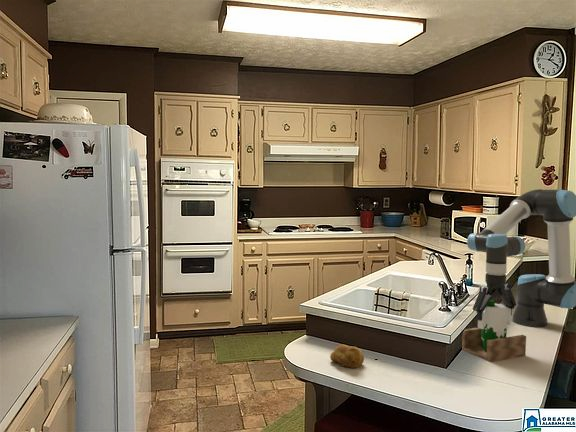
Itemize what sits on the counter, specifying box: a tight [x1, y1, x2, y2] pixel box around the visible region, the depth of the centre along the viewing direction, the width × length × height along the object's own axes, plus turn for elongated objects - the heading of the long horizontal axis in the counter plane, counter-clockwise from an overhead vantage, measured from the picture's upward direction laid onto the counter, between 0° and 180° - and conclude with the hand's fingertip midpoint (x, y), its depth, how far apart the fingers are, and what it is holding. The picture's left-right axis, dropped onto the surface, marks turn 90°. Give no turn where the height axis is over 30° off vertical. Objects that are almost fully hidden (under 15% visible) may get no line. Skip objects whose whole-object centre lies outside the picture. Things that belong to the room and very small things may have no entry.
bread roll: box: [329, 344, 365, 369], centre depth 184 cm, size 13×10×8 cm
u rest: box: [461, 327, 527, 363], centre depth 198 cm, size 18×16×8 cm
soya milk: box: [481, 299, 508, 352], centre depth 197 cm, size 9×9×20 cm
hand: (494, 326), depth 197 cm, fingers open, 13 cm apart
